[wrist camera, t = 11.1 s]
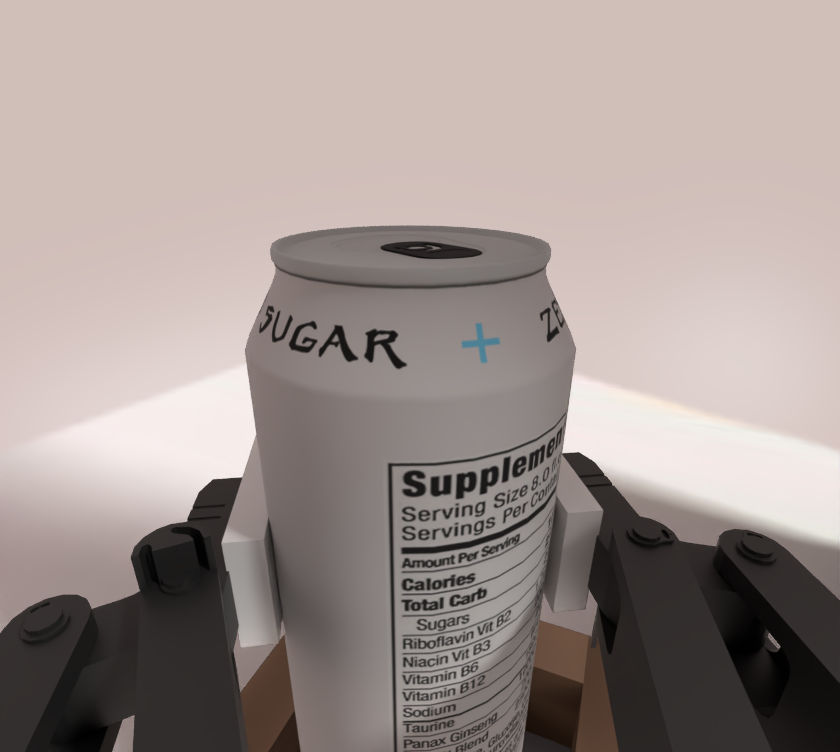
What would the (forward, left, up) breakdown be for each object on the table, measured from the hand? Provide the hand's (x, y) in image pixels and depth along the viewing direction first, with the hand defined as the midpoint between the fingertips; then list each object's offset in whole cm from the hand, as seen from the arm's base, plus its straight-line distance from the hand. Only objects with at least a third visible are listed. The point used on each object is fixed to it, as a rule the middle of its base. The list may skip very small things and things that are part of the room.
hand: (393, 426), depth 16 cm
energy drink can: (-2, +5, -9) cm, 10 cm away
